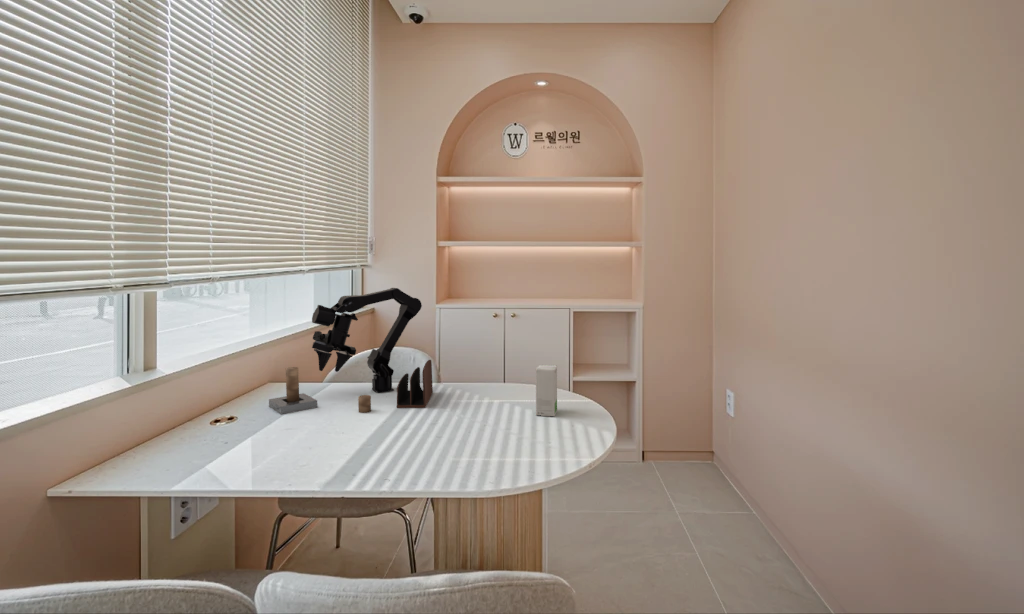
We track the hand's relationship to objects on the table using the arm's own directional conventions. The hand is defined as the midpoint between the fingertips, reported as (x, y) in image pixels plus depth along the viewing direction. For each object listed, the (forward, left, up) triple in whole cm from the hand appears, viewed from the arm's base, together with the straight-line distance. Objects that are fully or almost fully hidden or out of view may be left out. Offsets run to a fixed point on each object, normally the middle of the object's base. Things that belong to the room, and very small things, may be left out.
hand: (328, 371), depth 190 cm
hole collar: (+14, +4, -10) cm, 17 cm away
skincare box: (-52, +60, -10) cm, 80 cm away
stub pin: (-4, +23, -10) cm, 25 cm away
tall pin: (+14, +4, -10) cm, 17 cm away
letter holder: (-24, +21, -10) cm, 33 cm away
